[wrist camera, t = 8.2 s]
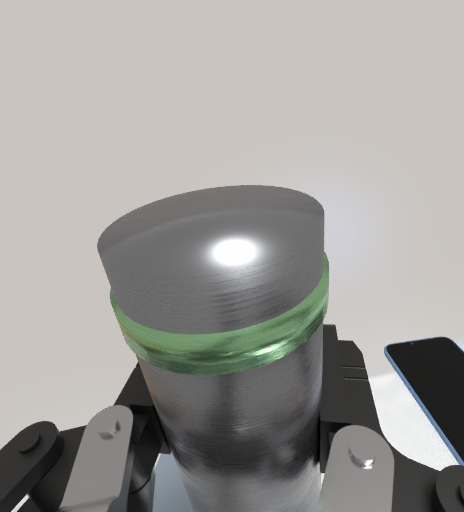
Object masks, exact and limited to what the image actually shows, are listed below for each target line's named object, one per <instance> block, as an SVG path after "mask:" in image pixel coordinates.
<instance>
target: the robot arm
mask: <svg viewBox="0 0 464 512" xmlns="http://www.w3.org/2000/svg"><path fill="white" fill-rule="evenodd" d="M159 453H162V454H171V449H170V446H169V444H168V441H167V438H166V435H165V433H164V430H163V427H162V425H161V422H160V419H159V416H158V414H157V411H156V408H155V405H154V403H153V400H152V397H151V395H150V392H149V389H148V386H147V384H146V381H145V378H144V375H143V373H142V370H141V367H140V364H139V362H138V363H137V365H136V368H134V370H133V372H132V374H131V375H130V377H129V379H128V381H127V383H126V384H125V386H124V388H123V390H122V391H121V393H120V395H119V397H118V399H117V400H116V402H115V404H114V405H113V406H110V407H108V408H105V409H103V410H102V411H100V412H99V413H97V414H96V415H95V416H94V417H93V418H92V419H91V420H90V422H89V423H88V425H86V426H82V427H77V428H73V429H69V430H65V431H60V432H59V431H58V429H57V427H56V426H55V424H53V423H52V422H48V421H41V422H37V423H35V424H33V425H30V426H28V427H26V428H25V429H24V430H22V431H21V432H19V433H18V434H17V435H16V436H15V437H14V438H13V439H12V440H11V441H9V442H8V443H7V444H6V445H5V446H4V447H3V448H2V449H1V450H0V512H11V511H12V510H13V509H14V508H15V506H16V505H17V504H18V503H19V502H20V501H21V500H22V499H23V498H24V497H25V495H26V494H27V495H28V496H29V498H28V500H27V501H26V502H25V503H24V504H23V505H22V506H21V507H20V509H19V510H18V511H17V512H152V511H153V500H154V489H155V478H156V469H155V466H154V465H155V462H156V459H157V457H158V454H159ZM319 463H320V473H325V475H324V479H323V484H322V488H321V492H320V497H319V501H318V505H317V510H316V512H464V466H463V465H451V466H448V467H445V468H444V469H442V470H441V471H438V470H435V469H433V468H430V467H428V466H426V465H423V464H421V463H418V462H416V461H413V460H411V459H409V458H407V457H406V456H404V455H402V454H401V453H400V452H398V451H397V450H396V449H395V448H394V447H393V446H392V445H391V444H390V443H389V442H388V441H387V439H386V438H385V436H384V435H383V433H382V431H381V428H380V424H379V420H378V416H377V412H376V408H375V404H374V400H373V396H372V391H371V387H370V383H369V381H368V375H367V371H366V368H365V363H364V359H363V355H362V352H361V351H360V350H359V348H358V347H357V346H356V345H355V343H354V342H353V341H344V340H338V338H337V332H336V326H335V325H325V324H323V358H322V401H321V408H320V455H319Z"/></svg>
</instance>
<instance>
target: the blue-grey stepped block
mask: <svg viewBox="0 0 464 512" xmlns="http://www.w3.org/2000/svg"><path fill="white" fill-rule="evenodd" d="M152 512H193V509H192V506H191V504H190V501H189V498H188V496H187V493H186V490H185V487H184V485H183V482H182V479H181V476H180V474H179V471H178V468H177V466H176V463H175V460H174V457H173V455H172V452H171V454H162V453H161V456H160V458H159V461H158V464H157V466H156V478H155V489H154V500H153V511H152Z"/></svg>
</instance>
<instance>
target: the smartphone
mask: <svg viewBox="0 0 464 512" xmlns="http://www.w3.org/2000/svg"><path fill="white" fill-rule="evenodd" d="M384 354H385V356H386V358H387V359H388V361H389V362H390V363H391V365H392V367H393V368H394V369H395V371H396V372H397V373H398V374H399V376H400V377H401V379H402V380H403V382H404V383H405V385H406V386H407V387H408V389H409V390H410V392H411V393H412V395H413V396H414V398H415V399H416V401H417V402H418V404H419V405H420V407H421V408H422V410H423V411H424V413H425V414H426V415H427V417H428V418H429V420H430V421H431V423H432V424H433V426H434V427H435V429H436V430H437V432H438V433H439V435H440V436H441V438H442V439H443V440H444V442H445V443H446V445H447V446H448V448H449V449H450V451H451V452H452V454H453V455H454V457H455V458H456V460H457V461H458V463H459V464H460V465H463V466H464V351H463V350H462V349H461V348H460V347H459V346H458V345H457V344H456V343H455V342H454V341H452V340H451V339H449V338H446V337H433V338H427V339H420V340H413V341H406V342H400V343H394V344H389V345H387V346H386V347H385V348H384Z"/></svg>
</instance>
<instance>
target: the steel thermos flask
mask: <svg viewBox="0 0 464 512" xmlns="http://www.w3.org/2000/svg"><path fill="white" fill-rule="evenodd" d="M97 247H98V252H99V255H100V258H101V261H102V263H103V266H104V269H105V271H106V274H107V277H108V280H109V283H110V285H111V291H110V299H111V304H112V307H113V309H114V312H115V315H116V318H117V320H118V323H119V325H120V328H121V331H122V333H123V336H124V338H125V341H126V343H127V344H128V346H129V347H130V348H131V350H132V351H133V352H134V353H135V354H136V356H137V359H138V362H139V364H140V367H141V370H142V373H143V375H144V378H145V381H146V384H147V386H148V389H149V392H150V395H151V397H152V400H153V403H154V405H155V408H156V411H157V414H158V416H159V419H160V422H161V425H162V427H163V430H164V433H165V435H166V438H167V441H168V444H169V446H170V449H171V452H172V455H173V457H174V460H175V463H176V466H177V468H178V471H179V474H180V476H181V479H182V482H183V485H184V487H185V490H186V493H187V496H188V498H189V501H190V504H191V506H192V509H193V512H316V510H317V505H318V501H319V497H320V492H321V473H320V463H319V455H320V408H321V401H322V358H323V319H324V317H325V314H326V312H327V307H328V291H329V289H328V288H329V262H328V259H327V256H326V254H325V252H324V210H323V207H322V205H321V204H320V203H319V202H318V201H317V200H316V199H314V198H313V197H311V196H309V195H307V194H305V193H302V192H299V191H296V190H292V189H288V188H282V187H274V186H261V185H241V186H226V187H217V188H209V189H203V190H198V191H192V192H187V193H183V194H179V195H175V196H171V197H168V198H164V199H161V200H158V201H155V202H152V203H150V204H147V205H145V206H142V207H140V208H138V209H135V210H133V211H131V212H130V213H127V214H126V215H124V216H122V217H120V218H119V219H118V220H116V221H115V222H113V223H112V224H111V225H110V226H108V227H107V228H106V229H105V231H104V232H103V233H102V234H101V236H100V238H99V240H98V244H97Z"/></svg>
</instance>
